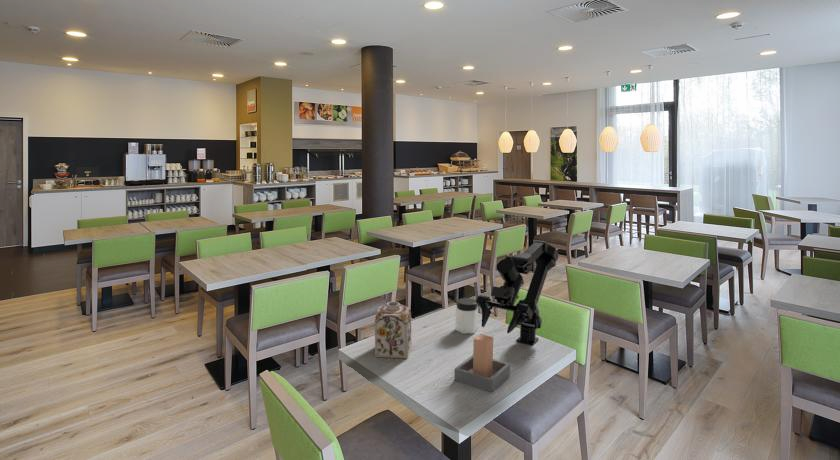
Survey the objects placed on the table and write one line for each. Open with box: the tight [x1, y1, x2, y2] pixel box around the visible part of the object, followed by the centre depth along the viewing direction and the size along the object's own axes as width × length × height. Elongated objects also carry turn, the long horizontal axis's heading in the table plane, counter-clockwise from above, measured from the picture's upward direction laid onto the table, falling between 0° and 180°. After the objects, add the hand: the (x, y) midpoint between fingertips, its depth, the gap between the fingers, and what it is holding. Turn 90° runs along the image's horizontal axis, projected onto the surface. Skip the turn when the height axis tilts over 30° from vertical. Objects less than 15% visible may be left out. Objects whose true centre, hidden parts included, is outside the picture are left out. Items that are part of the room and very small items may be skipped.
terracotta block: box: [472, 333, 494, 377], centre depth 146 cm, size 4×4×12 cm
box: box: [454, 354, 511, 393], centre depth 147 cm, size 13×13×4 cm
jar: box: [455, 297, 479, 335], centre depth 184 cm, size 9×8×12 cm
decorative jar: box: [374, 301, 412, 360], centre depth 164 cm, size 12×12×18 cm
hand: (495, 329), depth 151 cm, fingers open, 9 cm apart
